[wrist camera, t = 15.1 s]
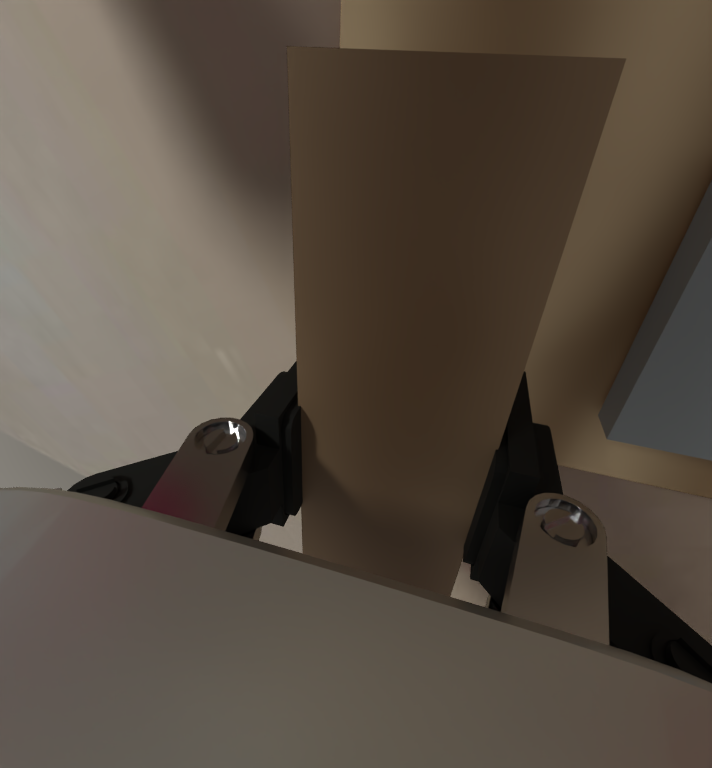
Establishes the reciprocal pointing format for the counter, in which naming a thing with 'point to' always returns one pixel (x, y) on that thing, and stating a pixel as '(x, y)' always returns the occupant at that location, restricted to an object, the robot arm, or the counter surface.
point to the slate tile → (671, 357)
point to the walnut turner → (423, 280)
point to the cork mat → (595, 191)
